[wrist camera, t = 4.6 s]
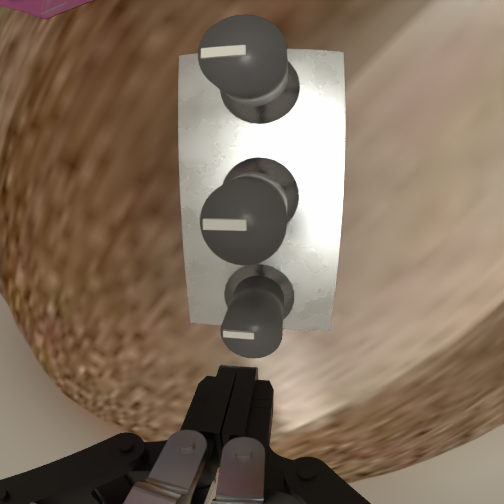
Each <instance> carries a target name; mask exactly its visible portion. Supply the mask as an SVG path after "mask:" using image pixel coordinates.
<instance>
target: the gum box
mask: <svg viewBox="0 0 504 504" xmlns="http://www.w3.org/2000/svg"><path fill="white" fill-rule="evenodd" d="M90 1H93V0H0V5H1V6H4V7H7V8H11V9H14V10H19V11H22V12H25V13H28V14H31V15H34V16H37V17H41V18H44V19H48V18H50V17H52V16H54V15H57V14H59V13H61V12H64V11H67V10H69V9H72V8H74V7H77V6H79V5H81V4H84V3H87V2H90Z"/></svg>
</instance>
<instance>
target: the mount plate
mask: <svg viewBox="0 0 504 504" xmlns="http://www.w3.org/2000/svg"><path fill="white" fill-rule="evenodd" d="M287 57H288V81H287V85H286V87H285V89H284V91H283V92H282V94H281V95H280V96H279V97H278V98H277V99H275V100H274V101H272V102H271V103H268V104H266V105H263V106H255V107H253V106H245V105H242V104H239V103H237V102H235V101H234V100H232V99H231V98H230V97H229V96H227V95H226V94H225V93H224V92H223V91H221V90H220V89H219V88H218V87H216V86H215V85H214V84H212V83H211V82H210V81H209V80H208V79H207V78H206V77H205V76H204V74H203V73H202V71H201V69H200V66H199V62H198V53H196V54H188V55H181V56H179V81H178V142H179V178H180V201H181V219H182V235H183V249H184V262H185V273H186V284H187V295H188V304H189V314H190V323H200V324H212V325H222V322H223V320H224V317H225V315H226V312H227V309H228V307H229V304H230V301H231V299H232V296H233V294H234V291H235V289H236V287H237V285H238V284H239V283H240V282H241V281H242V280H244V279H245V278H248V277H251V276H265V277H268V278H270V279H272V280H274V281H275V282H276V283H277V284H278V285H279V286H280V287H281V289H282V291H283V294H284V313H283V329H294V330H330V326H331V319H332V311H333V303H334V295H335V287H336V278H337V268H338V258H339V247H340V235H341V222H342V207H343V188H344V163H345V78H344V54H343V52H338V51H325V50H308V49H287ZM248 172H260V173H264V174H267V175H269V176H271V177H273V178H274V179H275V180H276V181H278V182H279V184H280V185H281V186H282V188H283V189H284V191H285V194H286V197H287V227H286V234H285V237H284V240H283V242H282V244H281V246H280V247H279V249H278V250H277V251H276V252H275V253H274V254H273V255H272V256H271V257H270V258H268V259H267V260H265V261H263V262H260V263H257V264H254V265H236V264H232V263H229V262H226V261H224V260H222V259H221V258H219V257H218V256H217V255H215V254H214V253H213V252H212V251H211V250H210V249H209V247H208V246H207V244H206V242H205V241H204V239H203V236H202V233H201V229H200V215H201V210H202V207H203V205H204V203H205V201H206V199H207V198H208V196H209V195H210V194H211V193H212V192H213V191H214V190H215V189H217V188H218V187H220V186H221V185H223V184H225V183H227V182H228V181H230V180H232V179H234V178H236V177H237V176H239V175H241V174H244V173H248Z"/></svg>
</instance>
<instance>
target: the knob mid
mask: <svg viewBox="0 0 504 504" xmlns="http://www.w3.org/2000/svg"><path fill="white" fill-rule="evenodd" d="M286 227H287V197H286V194H285V191H284V189H283V188H282V186H281V185H280V184H279V182H278V181H276V180H275V179H274V178H273V177H271V176H269V175H267V174H264V173H260V172H248V173H244V174H241V175H239V176H237V177H236V178H234V179H232V180H230V181H228V182H227V183H225V184H223V185H221V186H220V187H218V188H217V189H215V190H214V191H213V192H212V193H211V194H210V195H209V196H208V198H207V199H206V201H205V203H204V205H203V207H202V210H201V215H200V229H201V233H202V236H203V239H204V241H205V242H206V244H207V246H208V247H209V249H210V250H211V251H212V252H213V253H214V254H215V255H217V256H218V257H219V258H221V259H222V260H224V261H226V262H229V263H232V264H236V265H254V264H257V263H260V262H263V261H265V260H267V259H268V258H270V257H271V256H272V255H273V254H274V253H275V252H276V251H277V250H278V249H279V247H280V246H281V244H282V242H283V240H284V237H285V234H286Z"/></svg>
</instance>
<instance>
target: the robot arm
mask: <svg viewBox="0 0 504 504" xmlns="http://www.w3.org/2000/svg"><path fill="white" fill-rule="evenodd" d="M273 394H274V390H273V387H272V385H271V383H270V381H266V380H258V368H256V367H238V366H226V365H220V367H219V370H218V373H217V376H216V377H213V376H206V377H205V378H204V379H203V380H202V381H201V382H200V383H199V384H198V387H197V389H196V392H195V395H194V397H193V400H192V402H191V405H190V407H189V410H188V412H187V415H186V417H185V420H184V422H183V425H182V427H181V429H180V431H178V432H176V433H174V434H172V435H171V436H170V437H169V439H168V440H165V441H159V442H143V440H142V439H141V438H140V437H139V436H138V435H136V434H134V433H120V434H117V435H115V436H113V437H111V438H109V439H107V440H104V441H102V442H100V443H98V444H95V445H93V446H91V447H89V448H86V449H84V450H82V451H79V452H77V453H74V454H72V455H69V456H67V457H64V458H62V459H60V460H57V461H54V462H51V463H49V464H46V465H43V466H41V467H38V468H35V469H32V470H30V471H27V472H24V473H21V474H18V475H15V476H12V477H8V478H5V479H2V480H0V504H208V502H209V499H210V496H211V494H212V491H213V488H214V485H215V482H216V479H215V477H216V473H217V469H218V467H220V471H219V477H218V485H217V490H216V496H215V499H213V500H212V502H211V504H370V503H369V502H368V501H367V500H366V499H365V498H364V497H362V496H361V495H360V494H359V493H358V492H356V491H355V490H354V489H353V488H352V487H351V486H349V485H348V484H347V483H346V482H345V481H344V480H343V479H342V478H341V477H339V476H338V475H337V474H336V473H335V472H334V471H333V470H332V469H331V468H330V467H328V466H327V465H326V464H325V463H324V462H323V461H321V460H320V459H317V458H314V457H301V458H297V459H295V460H290V459H287V458H284V457H281V456H279V455H277V454H276V453H274V452H273V451H272V450H271V448H270V446H269V444H270V436H271V427H272V418H273Z"/></svg>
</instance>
